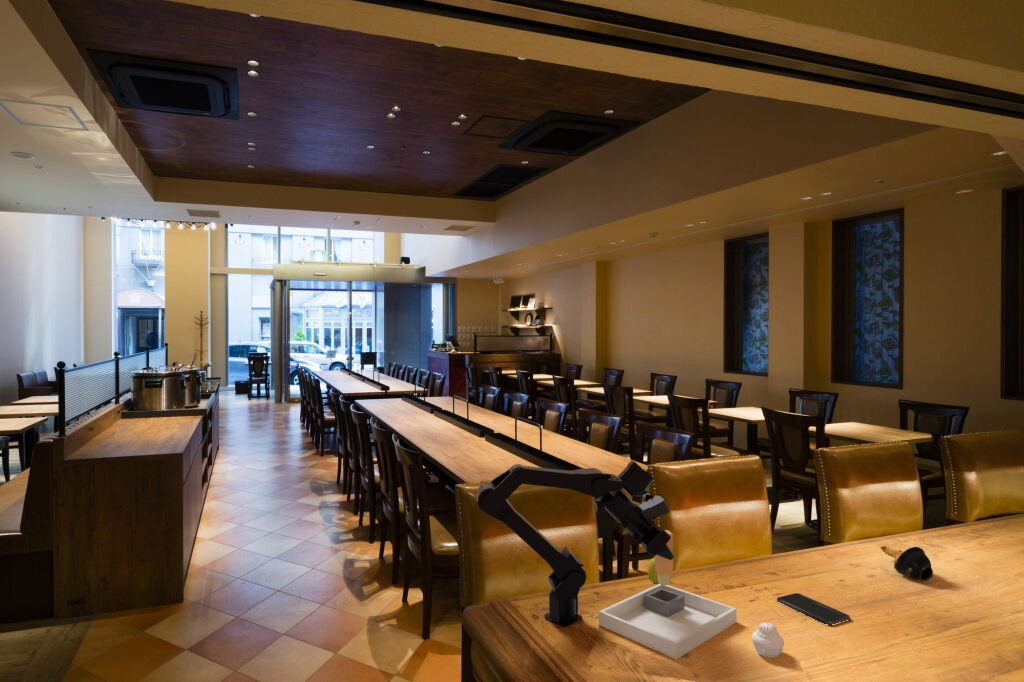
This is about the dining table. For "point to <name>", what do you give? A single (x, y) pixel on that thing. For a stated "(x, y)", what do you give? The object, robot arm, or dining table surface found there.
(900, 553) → the toilet plunger
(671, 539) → the tan square peg
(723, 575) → the dining table surface
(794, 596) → the phone
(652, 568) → the lemon
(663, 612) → the walled tray
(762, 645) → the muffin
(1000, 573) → the dining table surface
